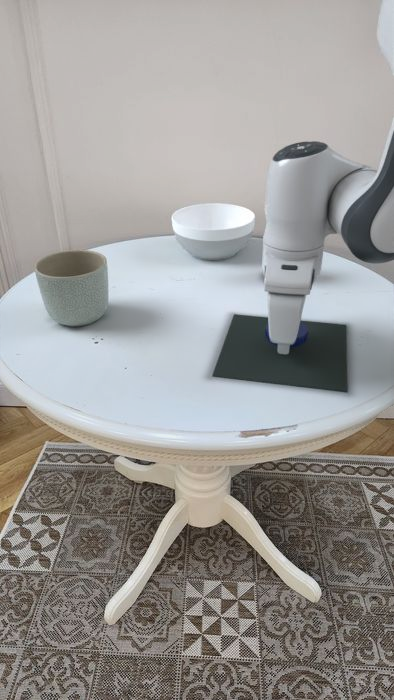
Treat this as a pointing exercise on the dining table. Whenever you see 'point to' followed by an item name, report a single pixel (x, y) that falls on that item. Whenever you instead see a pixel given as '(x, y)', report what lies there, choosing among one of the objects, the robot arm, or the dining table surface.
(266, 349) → the mat
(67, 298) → the planter
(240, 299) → the dining table surface
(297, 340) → the jam lid
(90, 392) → the dining table surface
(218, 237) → the bowl
